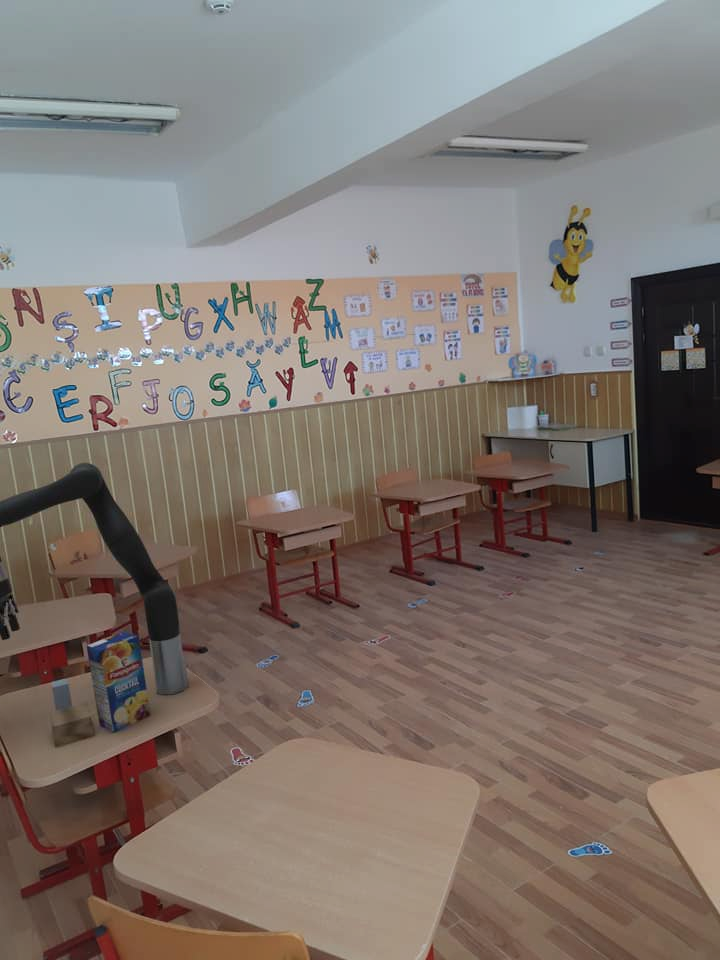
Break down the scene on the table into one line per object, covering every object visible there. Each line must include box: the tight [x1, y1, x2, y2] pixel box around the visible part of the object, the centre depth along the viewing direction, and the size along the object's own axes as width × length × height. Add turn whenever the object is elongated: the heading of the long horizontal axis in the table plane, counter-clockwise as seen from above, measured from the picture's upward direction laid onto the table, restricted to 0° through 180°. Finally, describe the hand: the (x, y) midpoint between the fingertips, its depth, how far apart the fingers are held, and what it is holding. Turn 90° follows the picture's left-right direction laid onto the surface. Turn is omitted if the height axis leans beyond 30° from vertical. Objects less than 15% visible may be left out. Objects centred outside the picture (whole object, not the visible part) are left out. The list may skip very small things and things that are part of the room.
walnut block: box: [48, 702, 95, 748], centre depth 206 cm, size 10×10×6 cm
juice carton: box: [86, 631, 151, 734], centre depth 210 cm, size 12×8×24 cm, turn 139°
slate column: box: [50, 678, 73, 711], centre depth 218 cm, size 4×4×10 cm
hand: (11, 634), depth 211 cm, fingers open, 8 cm apart
